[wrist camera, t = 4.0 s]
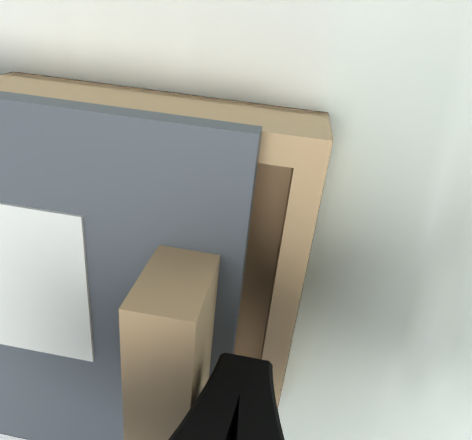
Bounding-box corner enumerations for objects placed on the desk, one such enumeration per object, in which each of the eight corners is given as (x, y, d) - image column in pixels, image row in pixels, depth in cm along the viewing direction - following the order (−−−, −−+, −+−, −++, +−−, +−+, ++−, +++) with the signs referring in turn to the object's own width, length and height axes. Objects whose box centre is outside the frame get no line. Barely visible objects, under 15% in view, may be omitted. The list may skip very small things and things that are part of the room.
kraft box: (273, 393, 18) (267, 459, 16) (52, 350, 19) (10, 406, 16) (328, 112, 13) (332, 140, 10) (13, 71, 14) (-59, 87, 11)
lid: (220, 461, 16) (199, 566, 13) (-44, 405, 16) (-120, 491, 14) (262, 126, 10) (242, 177, 7) (-145, 71, 11) (-312, 95, 8)
